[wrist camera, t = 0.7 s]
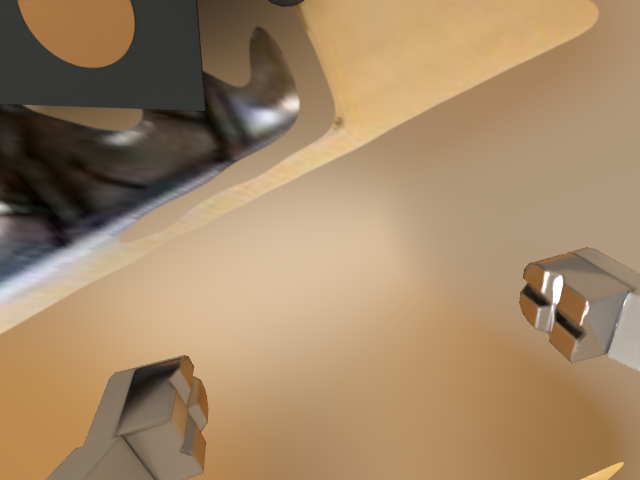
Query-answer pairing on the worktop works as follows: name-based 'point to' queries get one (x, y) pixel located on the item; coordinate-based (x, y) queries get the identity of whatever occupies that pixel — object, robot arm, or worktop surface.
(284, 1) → the wine bottle
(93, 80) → the centre mat
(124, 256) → the worktop surface
